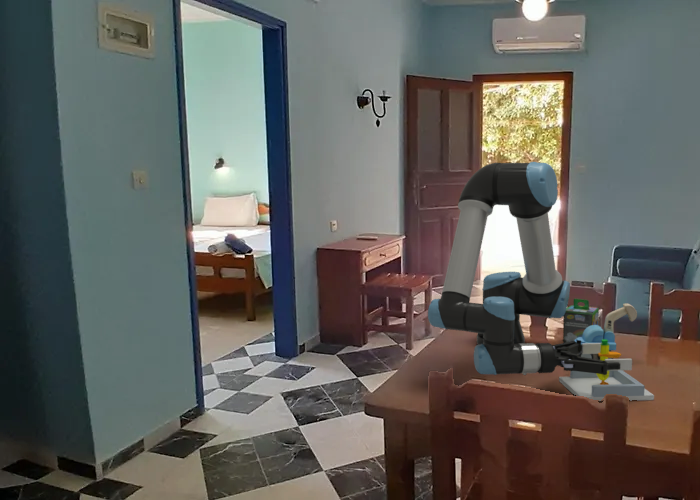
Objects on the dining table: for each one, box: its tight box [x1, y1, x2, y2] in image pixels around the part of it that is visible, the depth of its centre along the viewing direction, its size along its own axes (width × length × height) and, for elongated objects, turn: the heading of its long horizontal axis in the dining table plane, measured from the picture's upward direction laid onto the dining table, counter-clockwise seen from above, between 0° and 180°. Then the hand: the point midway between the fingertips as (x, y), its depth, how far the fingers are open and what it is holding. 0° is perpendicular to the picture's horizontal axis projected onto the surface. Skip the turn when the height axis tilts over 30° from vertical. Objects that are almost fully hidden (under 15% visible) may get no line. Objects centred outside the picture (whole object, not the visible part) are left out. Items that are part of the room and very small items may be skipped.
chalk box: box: [562, 298, 600, 343], centre depth 202 cm, size 9×9×15 cm
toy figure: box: [596, 339, 622, 385], centre depth 161 cm, size 7×4×12 cm, turn 85°
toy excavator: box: [574, 303, 638, 360], centre depth 184 cm, size 9×17×17 cm, turn 78°
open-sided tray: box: [558, 370, 655, 402], centre depth 161 cm, size 18×15×4 cm
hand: (618, 355), depth 160 cm, fingers open, 13 cm apart
